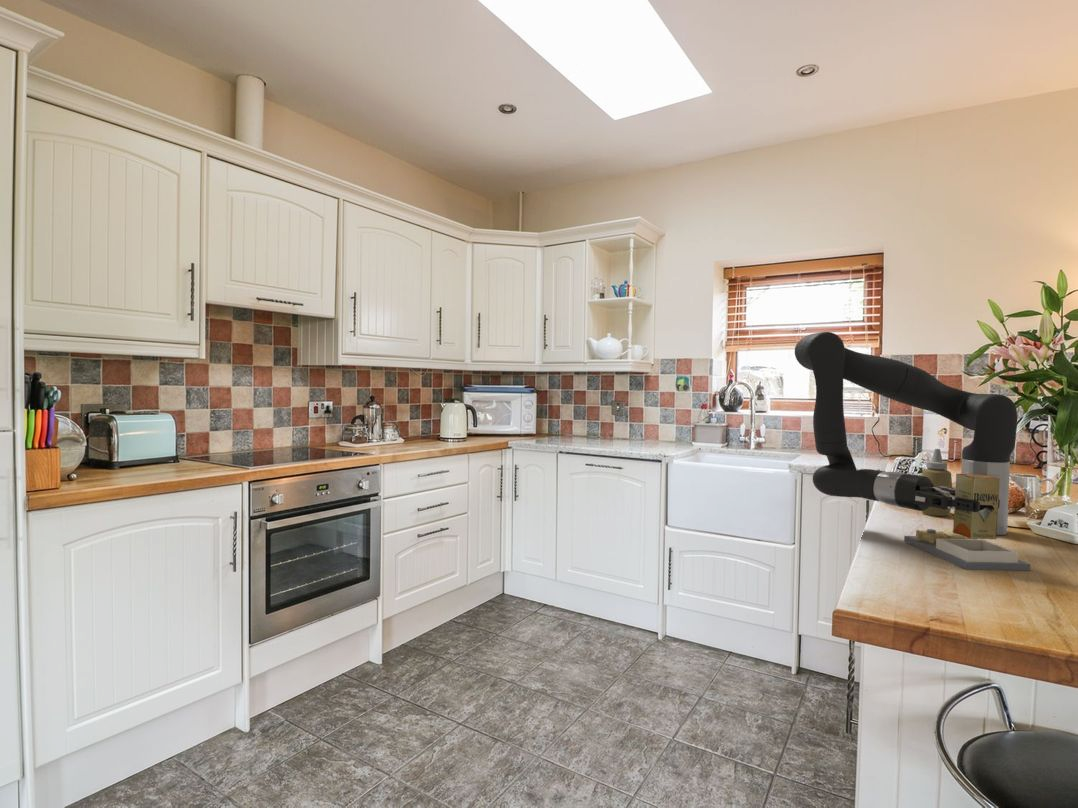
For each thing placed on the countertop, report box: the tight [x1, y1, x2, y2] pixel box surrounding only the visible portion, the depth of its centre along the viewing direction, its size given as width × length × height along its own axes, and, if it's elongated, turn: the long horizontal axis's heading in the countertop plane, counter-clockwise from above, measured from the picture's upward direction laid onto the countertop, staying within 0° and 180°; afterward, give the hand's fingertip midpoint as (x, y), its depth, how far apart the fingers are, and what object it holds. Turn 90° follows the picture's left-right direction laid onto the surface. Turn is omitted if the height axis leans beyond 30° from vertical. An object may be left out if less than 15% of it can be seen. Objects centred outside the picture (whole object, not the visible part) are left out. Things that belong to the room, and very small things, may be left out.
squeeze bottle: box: [921, 448, 953, 517], centre depth 159 cm, size 8×8×18 cm
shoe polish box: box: [952, 473, 1000, 540], centre depth 116 cm, size 5×5×12 cm
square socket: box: [936, 538, 1019, 563], centre depth 116 cm, size 9×9×2 cm
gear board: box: [903, 528, 1032, 571], centre depth 121 cm, size 20×12×4 cm, turn 178°
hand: (988, 505), depth 114 cm, fingers closed on shoe polish box, 6 cm apart
